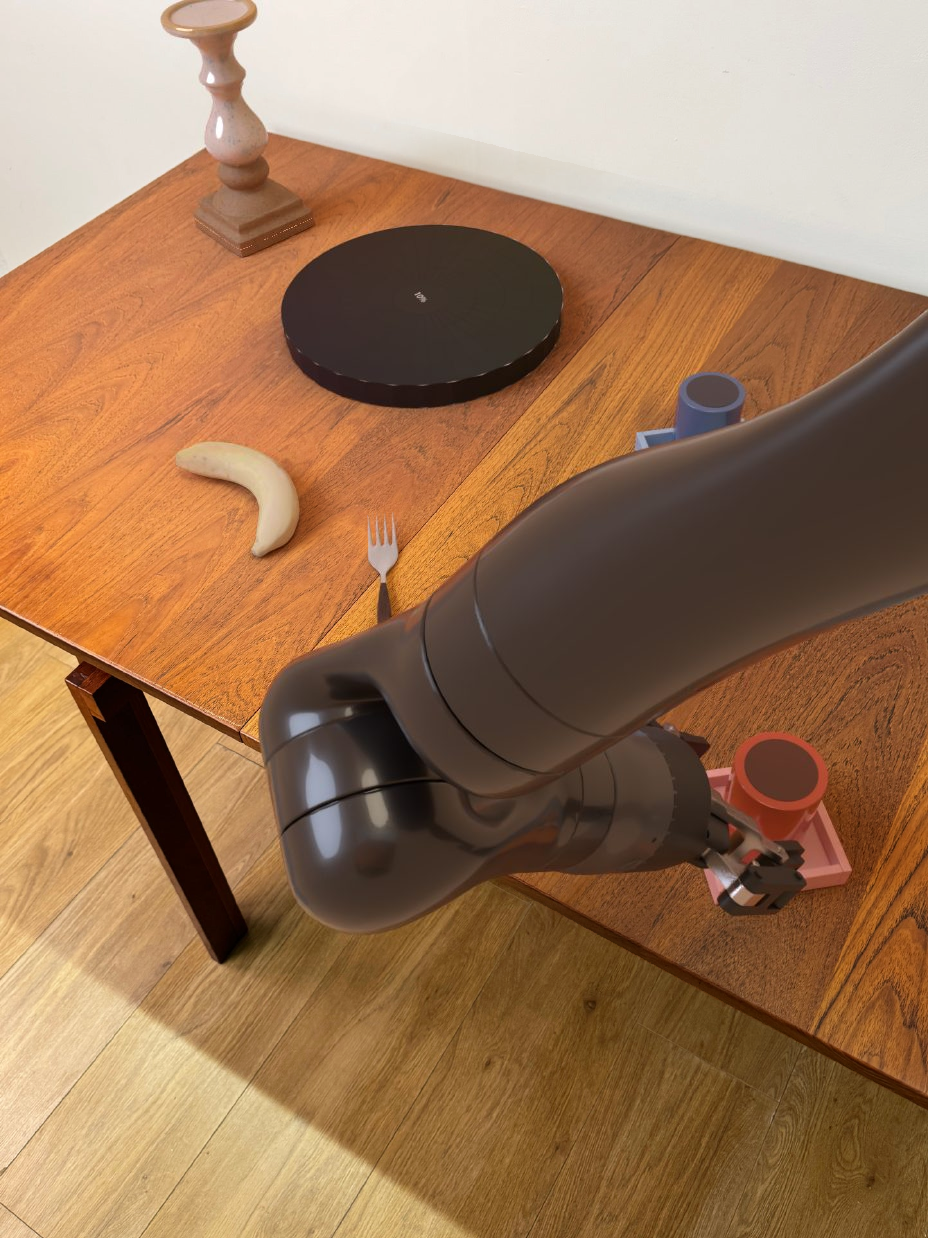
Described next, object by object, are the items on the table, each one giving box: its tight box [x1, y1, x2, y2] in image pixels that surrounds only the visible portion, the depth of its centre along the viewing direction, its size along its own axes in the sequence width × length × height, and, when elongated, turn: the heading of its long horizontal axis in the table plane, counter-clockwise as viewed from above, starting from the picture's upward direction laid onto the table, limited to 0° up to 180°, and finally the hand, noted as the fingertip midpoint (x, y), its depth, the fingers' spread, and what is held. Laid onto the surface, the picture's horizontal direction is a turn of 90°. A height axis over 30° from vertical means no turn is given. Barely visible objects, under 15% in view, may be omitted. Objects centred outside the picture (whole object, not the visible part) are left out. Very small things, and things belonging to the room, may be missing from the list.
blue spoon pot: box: [671, 371, 747, 441], centre depth 88 cm, size 6×6×8 cm
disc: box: [280, 224, 564, 409], centre depth 107 cm, size 30×30×3 cm
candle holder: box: [160, 0, 316, 258], centre depth 114 cm, size 11×11×24 cm
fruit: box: [174, 440, 300, 558], centre depth 90 cm, size 7×15×3 cm, turn 38°
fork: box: [367, 512, 399, 624], centre depth 82 cm, size 3×16×2 cm, turn 4°
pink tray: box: [703, 766, 853, 906], centre depth 67 cm, size 9×9×2 cm
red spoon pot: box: [723, 731, 829, 864], centre depth 64 cm, size 6×6×8 cm
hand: (742, 802), depth 61 cm, fingers open, 8 cm apart
